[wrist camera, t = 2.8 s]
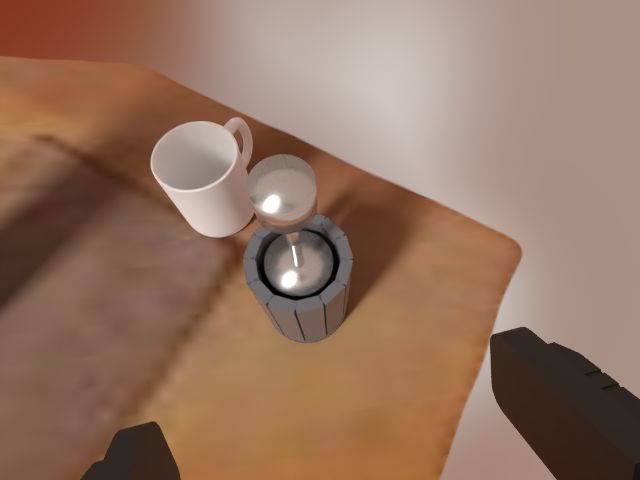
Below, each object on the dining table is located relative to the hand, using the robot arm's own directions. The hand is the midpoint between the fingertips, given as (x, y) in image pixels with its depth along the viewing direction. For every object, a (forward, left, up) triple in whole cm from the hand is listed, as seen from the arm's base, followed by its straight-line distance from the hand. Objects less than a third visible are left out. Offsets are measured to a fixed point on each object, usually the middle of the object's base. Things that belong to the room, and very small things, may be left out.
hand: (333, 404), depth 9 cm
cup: (-6, +26, -29) cm, 40 cm away
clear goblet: (0, +11, -18) cm, 21 cm away
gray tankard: (0, +12, -29) cm, 32 cm away
